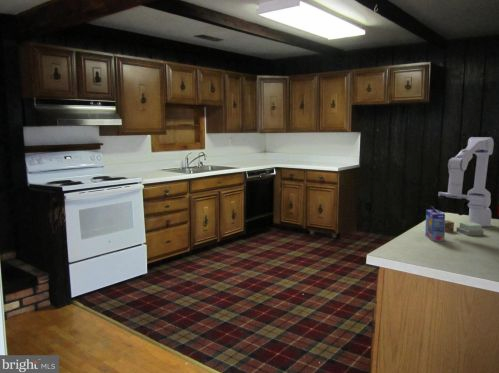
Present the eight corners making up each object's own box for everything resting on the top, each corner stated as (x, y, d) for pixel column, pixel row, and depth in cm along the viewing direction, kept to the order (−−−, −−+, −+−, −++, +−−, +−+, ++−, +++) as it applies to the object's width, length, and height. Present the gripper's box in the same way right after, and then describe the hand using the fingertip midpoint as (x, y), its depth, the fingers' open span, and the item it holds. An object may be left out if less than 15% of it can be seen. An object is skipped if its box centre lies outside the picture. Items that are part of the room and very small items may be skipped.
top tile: (471, 227, 194) (472, 221, 194) (481, 230, 188) (481, 225, 188) (459, 227, 193) (459, 222, 193) (468, 231, 187) (469, 225, 187)
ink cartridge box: (424, 235, 189) (425, 204, 187) (436, 235, 188) (438, 204, 186) (431, 241, 179) (433, 208, 177) (444, 241, 178) (446, 208, 176)
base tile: (471, 231, 196) (472, 226, 195) (483, 236, 188) (483, 230, 188) (456, 232, 195) (456, 227, 194) (467, 236, 187) (467, 231, 186)
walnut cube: (447, 229, 199) (448, 220, 198) (453, 231, 194) (454, 222, 193) (439, 229, 198) (439, 220, 197) (444, 232, 194) (445, 222, 193)
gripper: (435, 182, 189) (432, 211, 190) (466, 185, 177) (462, 216, 178) (444, 182, 193) (441, 211, 194) (475, 185, 181) (471, 216, 182)
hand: (452, 213), depth 186 cm, fingers open, 7 cm apart
